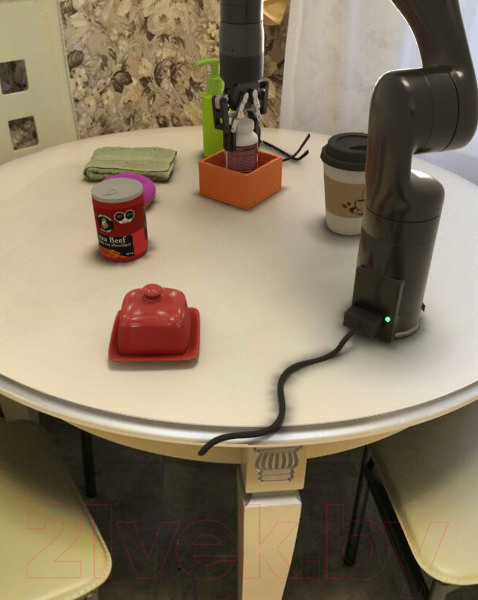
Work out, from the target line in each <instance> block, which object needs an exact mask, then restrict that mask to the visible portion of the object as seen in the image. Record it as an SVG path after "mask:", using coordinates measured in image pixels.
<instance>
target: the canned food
mask: <svg viewBox="0 0 478 600" xmlns="http://www.w3.org/2000/svg"><path fill="white" fill-rule="evenodd" d="M90 192H91V194H90V195H91V204H92V209H93V216H94V222H95V229H96V237H97V241H98V248H99V251H100V253H101V255H102V257H103V258H104V259H106V260H108V261H111V262H119V263H120V262H121V263H122V262H129V261H133V260H137V259H139V258H140V257H143V255H145V254H146V253H147V251H148V247H149V234H148V233H149V232H148V225H147V224H148V223H147V222H148V221H147V213H146V208H145V201H144V192H143V186H142V184H141V183H140V182H139V181H137V180H135V179H130V178H113V179H108V180H104V181H103V180H102V181H99V182H97V183H95V184H94V185H93V186H92V187H91V190H90Z"/></svg>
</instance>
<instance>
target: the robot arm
mask: <svg viewBox="0 0 478 600" xmlns="http://www.w3.org/2000/svg"><path fill="white" fill-rule="evenodd" d="M389 1H390V2H391V4H392V5H393V6H394V7H395V8H396V9H397V11H398V12H399V14H400V15H401V16H402V18H403V19H404V20H405V22H406V24H407V26H408V27H409V29H410V31H411V33H412V35H413V37H414V41H415V43H416V45H417V49H418V53H419V56H420V58H419V59H420V61H421V67H412V68H401V69H393V70H388V71H386V72H385V73H383V74H381V76H379V78H378V79H377V81H376V82H375V85H374V87H373V90H372V94H371V97H370V103H369V108H368V109H369V110H368V121H367V122H368V124H367V134H368V137H367V151H366V163H365V184H366V194H365V203H364V210H363V218H362V225H361V233H360V234H359V240H358V241H359V242H358V250H357V256H356V263H355V264H356V265H355V273H354V281H353V288H352V297H351V304H350V306H349V307H348V308H347V309H346V310H345V312H344V316H343V322H342V327H344V328H347V329H350V330H348V332H347V333H346V334H345V335H344V336H343V338H341V340H340V341H339V342H338V344H337V345H336V346H335V348H334V349H332V351H330V352H328V353H326V354H324V355H321V356H318V357H315V358H310V359H305V360H301V361H298V362H295V363H293V364H291V365H290V366H287V368H285V370H283V371H282V372H281V374H280V375H279V378H278V381H277V399H278V405H279V406H278V407H279V408H278V414H277V417H276V419H275V420H274V421H273V422H272V424H270V425H269V426H267V427H264V428H262V429H258V430H249V431H246V430H245V431H234V432H227V433H223V434H222V433H221V434H219V435H217V436H215V437H213V438H211V439H210V440H208V441H207V442H205V444H204V445H203V446H201V448H200V449H199V450H198V452H197V455H198V456H199V457H203V456H205V455H206V454H207V453H208V451H209V450H211V449H212V448H213V447H214V446H216V445H218V444H219V443H220V444H221V443H223V442H225V441H226V442H227V441H230V440H241V439H255V438H261V437H264V436H268V435H269V434H271V433H273V432H275V431H276V430H277V429H278V428H279V427H280V426H281V425H282V423H283V422H284V419H285V415H286V408H287V407H286V398H285V391H284V390H285V389H284V387H285V386H284V385H285V382H286V379H287V377H288V376H289V375H290V374H291V373H293V372H294V371H296V370H298V369H300V368H304V367H307V366H312V365H315V364H318V363H323V362H326V361H329V360H330V359H332V358H334V357H335V356H337V355H338V354H340V352H342V350H343V348H344V347H345V345H346V344H347V343H348V342H349V341H350V339H351V338H352V337H353V336H354V335H355V334H356V333H360V334H362V335H364V336H367V337H368V338H372V339H373V338H377V339H378V340H381V341H384V342H386V343H389V344H390V343H392V342H393V341H394V340H397V339H402V338H406V337H409V336H411V335H412V334H414V333H415V332H416V331H417V330H418V328H419V326H420V322H421V313H422V312H423V313H425V310H426V305H425V303H424V299H425V293H426V288H427V284H428V279H429V275H430V269H431V265H432V259H433V255H434V251H435V245H436V240H437V235H438V231H439V227H440V221H441V217H442V212H443V207H444V203H445V199H446V190H445V188H444V185H443V184H442V183H441V182H440V180H438V179H436V178H435V177H433V176H431V175H429V174H427V173H426V172H423V171H419V170H415V169H412V162H413V156H417V155H425V154H434V153H435V154H436V153H443V152H450V151H451V152H452V151H457V150H460V149H462V148H465V147H466V146H468V144H470V142H471V141H472V140H473V138H474V137H475V135H476V132H477V129H478V80H477V76H476V70H475V67H474V61H473V57H472V54H471V49H470V45H469V40H468V37H467V33H466V29H465V23H464V19H463V16H462V11H461V6H460V0H389ZM218 29H219V30H218V58H219V75H220V78H221V79H222V80H223V81H224V90H223V94H221V95H220V96H216V95H213V96H212V99H211V100H212V110H213V119H214V128H215V129H218V130H222V131H223V147H224V149H225V150H226V151H229V152H234V151H236V131H235V130H236V126H237V123H238V120H240V119H241V118H243V117H242V116H243V112H244V113H245V116H246V118H249V119H252V120H253V121H254V130H253V132H255V133H256V134H257V136H258V130H259V129H258V128H259V126H260V125H259V123H260V122H259V121H261V119H262V116H263V115H266V114H267V112H268V101H269V91H270V81H269V80H266V79H263V77H264V66H265V65H264V64H265V63H264V62H265V61H264V59H265V58H264V57H265V30H264V0H219V28H218ZM260 101H261V104H260ZM229 109H231V111H233V112H231V113H230V112H229ZM220 118H221V119H222V123H220ZM229 118H231V119H232V121H231V125H230V124H229ZM189 576H190V588H191V597H192V600H199V592H198V582H197V577H196V576H194V575H193V573H189Z"/></svg>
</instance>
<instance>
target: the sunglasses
mask: <svg viewBox="0 0 478 600" xmlns="http://www.w3.org/2000/svg"><path fill="white" fill-rule="evenodd" d="M258 129H259V130H258V146H260V145H261V144H263V145H265V146H267V147H269V148H271V149H273V150H275V151H277V152H278V153H280V154H282V155H284V156H286V157H285V158H283V159H282V163H285V162H286V161H290V160H293V161H295V162H299V161H301V160H303V159H304V158H306V156H308V155H309V153H310V149H306V150H305V151H304V152H303V153H302V154H301V155H300V156H299V157H297V155H299V153H300V152H301V151H302V149H303V148H304V147H305V145H306V144H307V142H308V141H309V140H310V138H311V133H307V135H306V137H305V139H304V140H303V141H302V143H301V144H300V146H299V147H298V149H297V150H296V151H295V152H294V153H293V154H290V153H288V152H286V151H285V150H283V149H281V148H279V147H277V146H276V145H274V144H272V143H270V142H267V140H264V139H263V140H262V139H261V136H262V134H261V133H262V128H261V126H260V125H259V128H258Z"/></svg>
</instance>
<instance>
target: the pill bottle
mask: <svg viewBox="0 0 478 600" xmlns="http://www.w3.org/2000/svg"><path fill="white" fill-rule="evenodd" d="M231 121H232V118H231V119H230V120H229V124H230V125H231ZM253 130H254V121H253V120H252V119H249V118H247V117H241V119H240V120H238V123H237V126H236V130H235V131H236V151H234V152H229V151H226V150H225V149H224V155H225V168H227V169H230V170H233V171H237V172H240V173H243V174H249V173H250V172H252V171H254V170H256V169H258V150H259V145H258V136H257V134H256V133H255V132H253Z"/></svg>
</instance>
